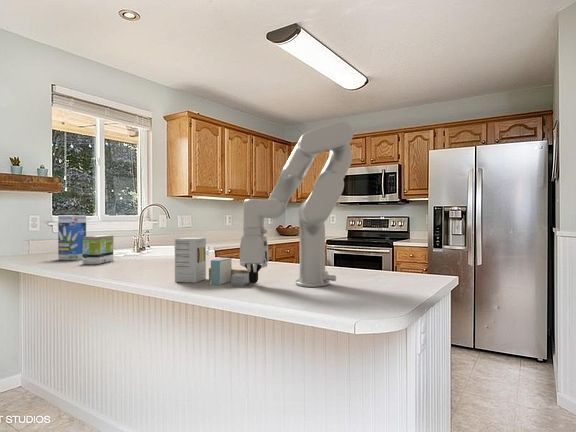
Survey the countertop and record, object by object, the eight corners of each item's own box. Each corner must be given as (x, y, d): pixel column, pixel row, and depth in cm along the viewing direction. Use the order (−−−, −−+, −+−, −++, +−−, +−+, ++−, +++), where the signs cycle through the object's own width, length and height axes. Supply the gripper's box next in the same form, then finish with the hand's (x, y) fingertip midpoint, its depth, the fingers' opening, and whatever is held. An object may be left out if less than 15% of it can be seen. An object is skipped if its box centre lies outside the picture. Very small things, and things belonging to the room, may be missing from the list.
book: (231, 281, 148) (231, 258, 148) (220, 285, 141) (219, 260, 141) (222, 280, 150) (222, 257, 150) (210, 284, 143) (210, 260, 143)
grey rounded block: (249, 283, 146) (249, 272, 146) (244, 287, 138) (244, 276, 138) (236, 282, 146) (236, 272, 146) (231, 287, 138) (231, 276, 138)
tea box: (100, 264, 202) (100, 236, 202) (81, 264, 202) (81, 236, 202) (114, 260, 217) (113, 234, 217) (96, 260, 217) (96, 234, 217)
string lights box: (57, 259, 222) (57, 215, 222) (67, 258, 230) (66, 215, 230) (78, 260, 220) (77, 215, 220) (87, 258, 228) (86, 215, 228)
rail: (250, 281, 147) (250, 270, 147) (249, 282, 146) (249, 270, 146) (210, 278, 154) (210, 267, 154) (208, 279, 153) (208, 268, 153)
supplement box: (196, 283, 146) (196, 238, 145) (174, 282, 147) (173, 238, 147) (206, 278, 155) (206, 237, 155) (185, 278, 157) (185, 237, 157)
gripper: (276, 232, 140) (276, 282, 140) (241, 231, 146) (240, 279, 146) (267, 233, 133) (267, 286, 134) (230, 232, 139) (230, 282, 139)
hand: (253, 282), depth 140 cm, fingers closed
